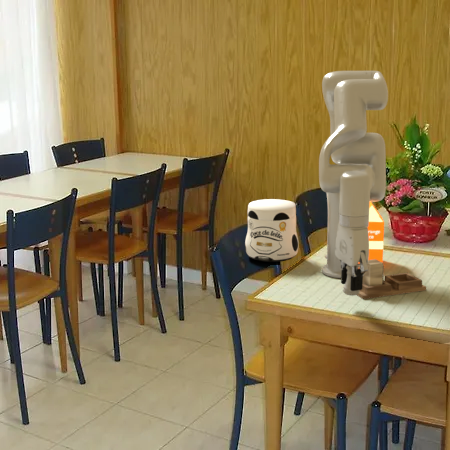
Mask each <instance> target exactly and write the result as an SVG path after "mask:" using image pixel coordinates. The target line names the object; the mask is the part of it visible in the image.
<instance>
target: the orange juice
mask: <svg viewBox="0 0 450 450" xmlns="http://www.w3.org/2000/svg"><path fill="white" fill-rule="evenodd" d="M367 228H368V235H369V260H372V259H377V260H378V261H380V262H382V263H383V264H384V261H383V260H384V259H383V258H384V256H383V255H384V235H385V221H384V219H383V217H382V215H381V214H380V212H379V211H378V209H377V208H376V206H375V205H374V204H373V202H370V204H369V226H368V227H367ZM359 264H360V262H359Z"/></svg>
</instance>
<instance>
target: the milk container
mask: <svg viewBox="0 0 450 450" xmlns="http://www.w3.org/2000/svg"><path fill="white" fill-rule="evenodd" d="M296 214H297V208H296V203H295V202H294V201H290V200H285V199H279V198H276V199H275V198H269V199H267V198H264V199H257V200H253V201H251V202H249V203H248V205H247V233H246V236H245V240H244V241H245V242H244V246H245V252H246V254H247V256H248V257H249V258H250V259H252V260H255V261H258V262H263V263H265V262H267V263H280V262H286V261H289V260H292V259H293V258H294V257H296V256H297V254H298V252H299V244H300V242H299V236H298V233H297V215H296Z"/></svg>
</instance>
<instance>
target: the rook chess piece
mask: <svg viewBox="0 0 450 450" xmlns="http://www.w3.org/2000/svg"><path fill="white" fill-rule="evenodd" d="M346 269H347V270H348V271H347V280H346V283H345V284H343V286H342V288H343V289H342V292H343V293H344V295H346V296H357V294H359V292H360V290H356V291H351V290H350V288H351V276H353V275H352V267H350V266H349V265H347V266H346ZM357 269H358V267H356V271H357Z"/></svg>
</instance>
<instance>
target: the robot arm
mask: <svg viewBox="0 0 450 450" xmlns="http://www.w3.org/2000/svg"><path fill="white" fill-rule="evenodd" d="M321 81H322V82H321V87H322V88H321V89H322V96H323V100H324V103H325V106H326V109H327V112H328V114H329V115H328V116H329V121H330V123H329V124H330V135H329V136H328V138H327V139H326V140H325V142H324V143H323V145H322V146H321V149H320V153H319V157H318V180H319V181H318V182H319V187H320V188H321V191H323V192H324V193H325V194H326V198H327V199H326V202H327V234H326V235H327V236H326V237H327V239H326V240H327V241H326V242H327V243H326V244H327V245H326V247H327V248H326V254H325V256H324V258H325V259H326V264H324V265H323V266H321V273H322V274H323V275H325V276H328V277H331V278H335V279H341V280H340V283H341V285H345V283H346V280H347V271H348V270H347V269H346V266H347V265H349V266H350V267H352V275H353V276H351V288H350V290H351V291H356V290H362V285H363V276H364V273H365V272H366V271H368V265H367V264H368V260H369V235H368V228H367V227H368V226H369V204H370V202H372V203H374V202H376V203H377V202H380V201H383V199H384V198H385V196H386V190H387V188H386V187H387V177H386V176H387V175H386V173H387V171H386V170H387V165H386V164H387V163H386V161H387V160H386V159H387V158H386V156H387V155H386V143H385V142H386V141H385V139H384V137H383V136H382V135H381V134H380V133H377V132H367V131H368V125H367V111H382V110H384V109H385V108H386V106H387V105H388V101H389V91H388V90H389V88H388V85H387V82H386V79H385V77H384V75H383V73H382V72H381V71H379V70H336V71H330V72H328V73H327V74H324V76H323V78H322V80H321ZM330 158H331V160H332V162H333V163H334V164H331V163H330ZM359 262H360V264H359ZM356 267H358V269H357V271H356Z"/></svg>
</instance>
